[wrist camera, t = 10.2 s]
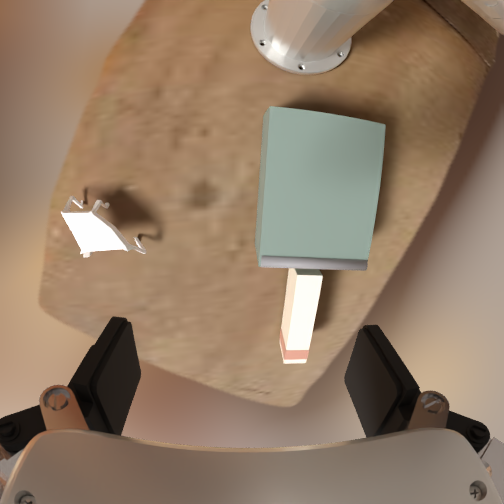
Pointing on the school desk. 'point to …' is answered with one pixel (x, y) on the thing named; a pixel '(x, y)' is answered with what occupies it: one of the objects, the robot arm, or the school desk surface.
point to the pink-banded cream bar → (299, 313)
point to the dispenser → (317, 189)
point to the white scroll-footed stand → (95, 230)
